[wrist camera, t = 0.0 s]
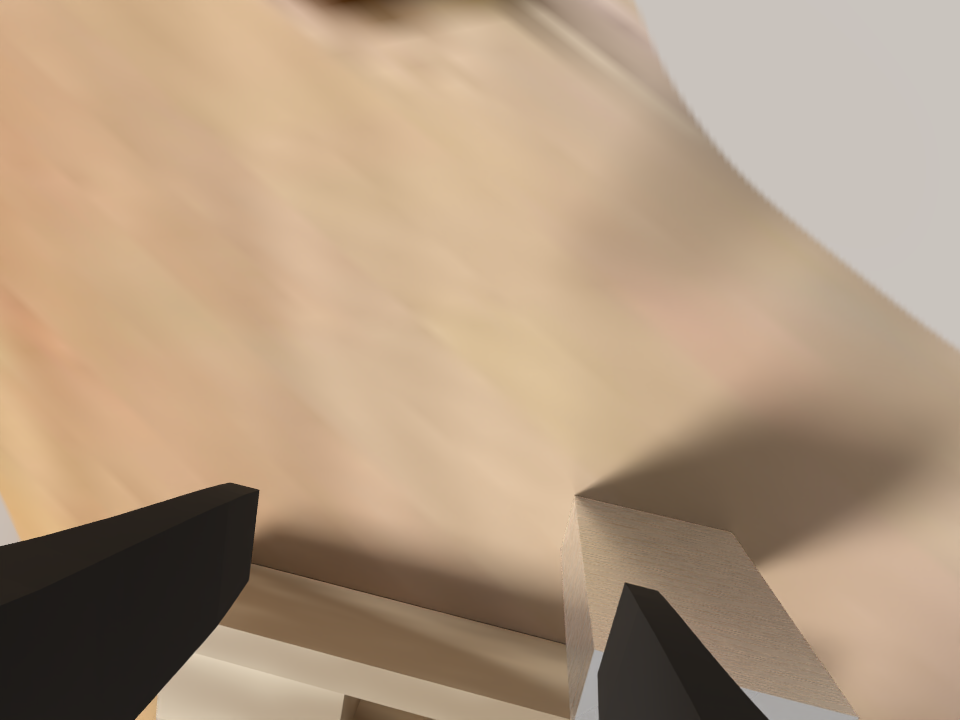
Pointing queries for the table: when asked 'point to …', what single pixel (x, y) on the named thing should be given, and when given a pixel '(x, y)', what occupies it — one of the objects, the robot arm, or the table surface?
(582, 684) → the rectangular metal block
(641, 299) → the table surface
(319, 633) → the post beam
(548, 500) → the table surface
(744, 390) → the table surface
